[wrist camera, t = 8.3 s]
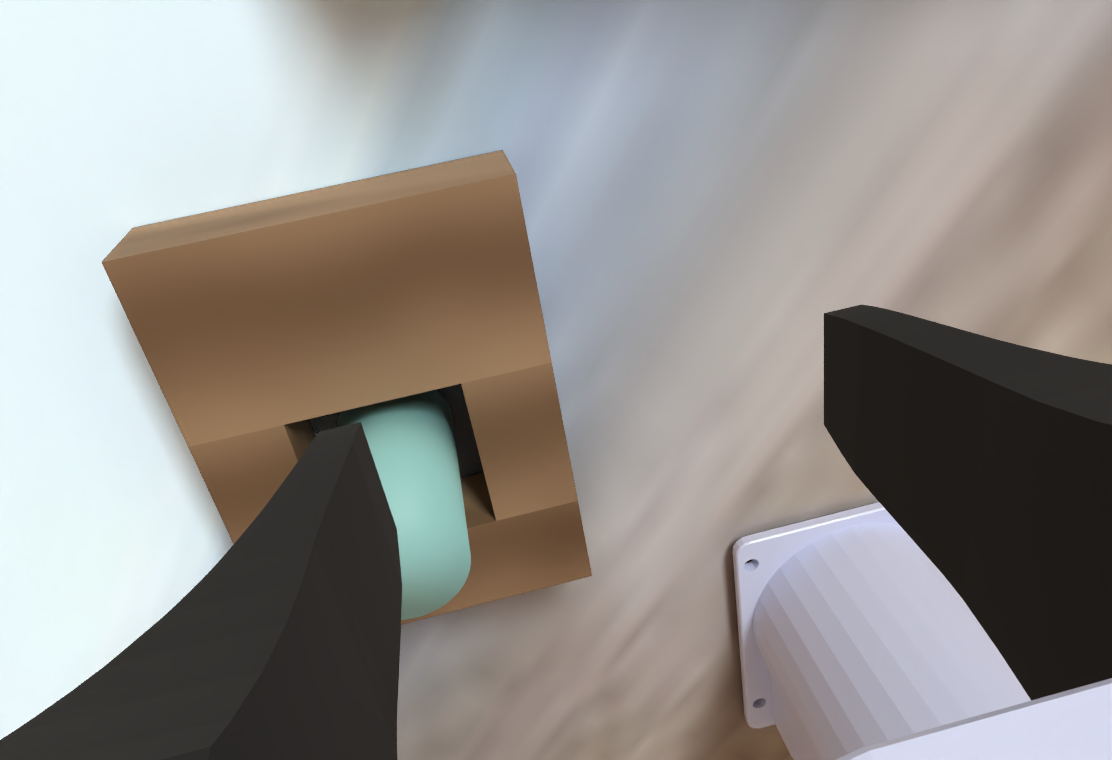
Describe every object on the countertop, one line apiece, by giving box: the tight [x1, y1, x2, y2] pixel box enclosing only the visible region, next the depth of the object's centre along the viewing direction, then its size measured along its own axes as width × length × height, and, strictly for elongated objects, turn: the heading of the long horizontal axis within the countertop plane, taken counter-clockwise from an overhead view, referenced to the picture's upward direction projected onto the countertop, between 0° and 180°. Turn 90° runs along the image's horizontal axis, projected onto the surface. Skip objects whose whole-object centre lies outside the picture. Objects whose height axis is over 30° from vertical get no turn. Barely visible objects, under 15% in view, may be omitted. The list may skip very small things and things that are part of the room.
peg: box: [337, 390, 471, 620], centre depth 20 cm, size 3×3×6 cm
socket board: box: [102, 150, 592, 624], centre depth 22 cm, size 12×9×2 cm
